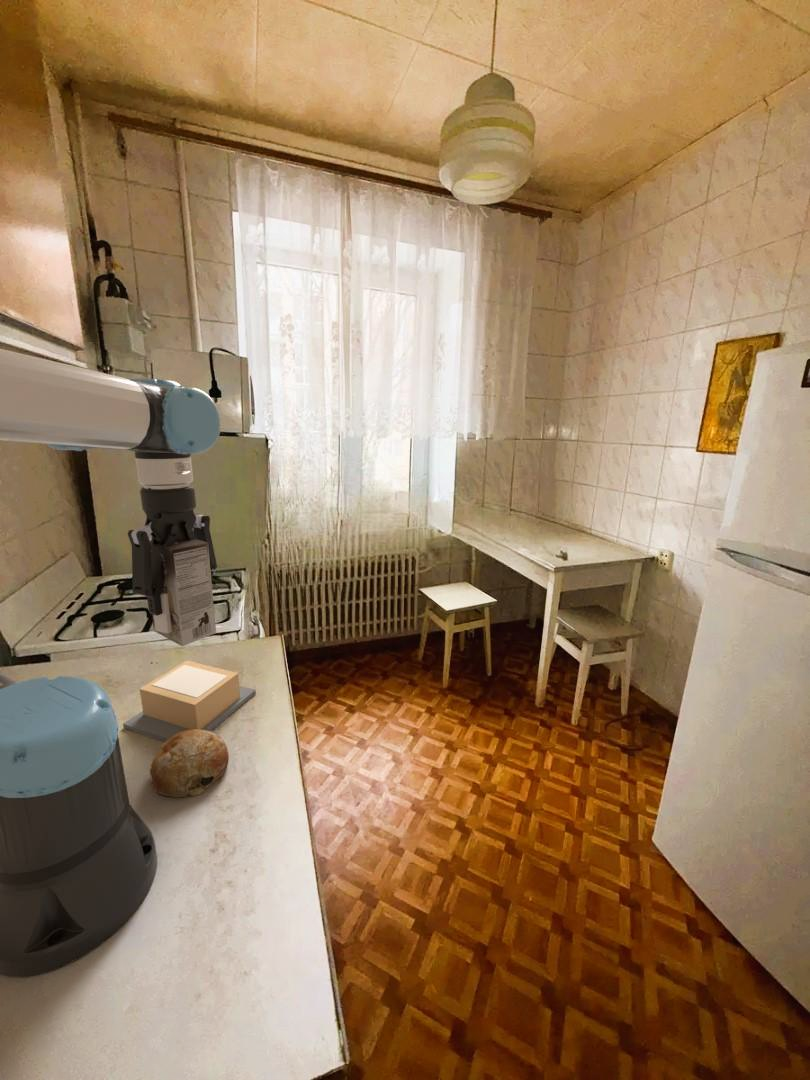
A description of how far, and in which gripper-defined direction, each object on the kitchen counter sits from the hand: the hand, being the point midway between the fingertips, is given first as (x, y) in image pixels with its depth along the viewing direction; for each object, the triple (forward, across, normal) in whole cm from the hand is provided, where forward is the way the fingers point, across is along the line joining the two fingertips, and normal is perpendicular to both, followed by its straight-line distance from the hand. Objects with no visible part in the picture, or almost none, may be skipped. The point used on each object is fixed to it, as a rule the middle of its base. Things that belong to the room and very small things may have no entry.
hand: (183, 621), depth 74 cm
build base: (+17, 0, 0) cm, 17 cm away
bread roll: (+18, -12, -11) cm, 23 cm away
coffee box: (+2, 0, 0) cm, 2 cm away
